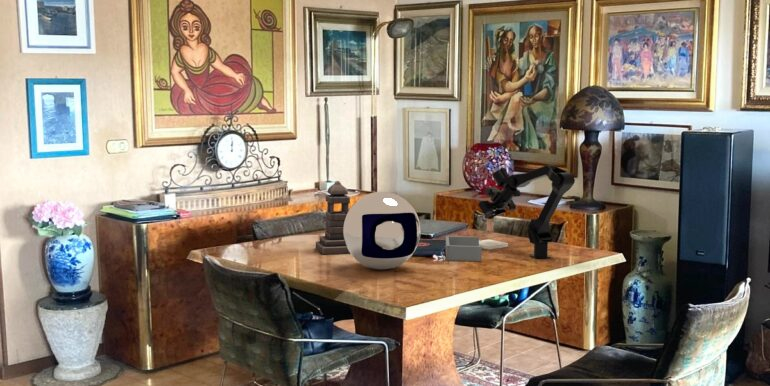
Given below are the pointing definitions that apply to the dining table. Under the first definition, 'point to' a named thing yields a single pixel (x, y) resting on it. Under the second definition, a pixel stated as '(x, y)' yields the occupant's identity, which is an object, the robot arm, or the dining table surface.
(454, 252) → the open crate
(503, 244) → the ceramic tile
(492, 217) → the grandmother figurine
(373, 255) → the spherical light
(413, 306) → the dining table surface
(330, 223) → the miniature tower
